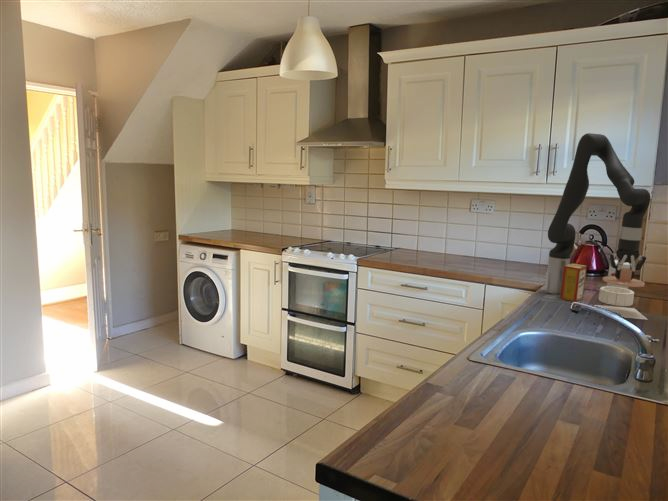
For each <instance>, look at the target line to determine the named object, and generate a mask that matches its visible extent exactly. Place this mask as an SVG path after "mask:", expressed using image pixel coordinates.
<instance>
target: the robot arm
mask: <svg viewBox="0 0 668 501" xmlns="http://www.w3.org/2000/svg"><path fill="white" fill-rule="evenodd" d="M592 156H593V157H594V156H596V157H598V158H599V159H600V160H601V161H602V162H603V163H604V165H605V171H606V175H607V177H608V180H609V181H610V182H611V183H612V184H613V186H614V187H615V188H616V191H617V193H618V194H617V195H618V196H619V199H620V201H621V202H622V203H623V204H624V205H625V206H627V207H631V208H630V209H629V211H627V212H625V213H623V216H622V221H621V228H620V231H619V236H618V237H619V238H618V243H617V244H618V245H617V250H616V251H615V252H613V253H608V258H609V259H608V260H609V265H610V264H611V267H613V268H615V269H616V270H615V277H616V278H617V279H619V277H620V269H621V267H622V265H623V264H624V263H626V262H628V263H629V265H630V269H631V270H632V276H631V280H632V279H635V278H634V277H635V272H636V271H641V269H642V267H643V266H644V264H645V262H646V260H647V257H646V256H644V255H641V254H640V247H641V246H640V245H641V242H642V241H641V240H642V233H643V232H642V229H643V221H644V217H645V215H646V213H647V210H648V209H649V205H650V204H651V197H652V196H651V194H650V192H649V190H648V189H646V188H635V187H633V186H634V184H635V179H634V177H633V176H632V175H631V173H630V172H629V171H628V170H627V168H626V167H625V166H624V164H622V161H621V160H620V159H619V157H618V155H617V153H616V151H615V149H614V148H613V145H612V143H611V141H610V140H609V139H608V137H607V136H606V135H604V134H601V133H585V134H583V135H582V136H581V138H580V139H579V140H578V143H577V148H576V151H575V155H574V160H573V163H572V167H571V170H570V173H569V177H568V179H567V181H566V184H565V186H564V190H563V193H562V196H561V199H560V201H559V203H558V204H559V205H558V206H557V210H556V212H555V214H554V217H553V219H552V221H551V223H550V225H549V227H548V230H547V238H548V240H549V241H550V242H551V243H553V244H556V245H555V246H554V247H553V248H551V249H550V250H549V254H548V260H547V261H548V262H547V270H546V272H545V278H544V279H545V280H544V292H545V293H547V294H553V295H561V291H562V282H563V274H564V266H566V265H569V264H571V263H570V262H571V256H572V253H573V252H574V248H575V241H576V229H575V226H574V225H573V224H571V223H569V221H570V218H571V217H572V215H573V214H574V213H575V212H576V210H577V209H579V208H580V206H581V205H582V203H583V202H584V200H585V198H586V196H587V193H588V190H589V188H590V181H589V180H590V179H589V175H588V168H589V164H590V163H589V162H590V160H591V157H592ZM616 257H617V259H618V260H617V261H618V262H617V265H615V259H616ZM636 260H638V261H637V263H636Z"/></svg>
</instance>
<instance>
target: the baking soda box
mask: <svg viewBox="0 0 668 501" xmlns="http://www.w3.org/2000/svg"><path fill="white" fill-rule="evenodd" d="M587 267H588V266H587V265H584V264H577V263H570V264H569V265H566V266H564V274H563V282H562V291H561V294H560V299H561V300H567V301H570V302H575V301H576V302H578V301H579V300H582V299H583V298H584V292H585V286H586V277H587Z"/></svg>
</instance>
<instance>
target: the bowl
mask: <svg viewBox="0 0 668 501" xmlns="http://www.w3.org/2000/svg"><path fill="white" fill-rule="evenodd" d="M634 297H635V291H633V290H631V289H629V288H628V289H625V288H620V287H610V286H607V285H606V286H601V287H600V288H599V294H598V301H599V302H600V303H603V304H607V305H609V306H615V307H631V306H633V304H634Z"/></svg>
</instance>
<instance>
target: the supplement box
mask: <svg viewBox="0 0 668 501" xmlns="http://www.w3.org/2000/svg"><path fill="white" fill-rule="evenodd" d="M614 260H615V259H614ZM617 262H618V260H615V265H617ZM608 267H609V268H608V274H607V276H615V270H616V269H615V268H613V267H611V264H610V263H609V266H608ZM621 268H630V265H629V263H628V262H626V263H624V264H623V265H622V267H621ZM606 286H610V287H620V288H625V289H629V288H630V287H625V286H619V285H614V284H610V283H607V282H606Z"/></svg>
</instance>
